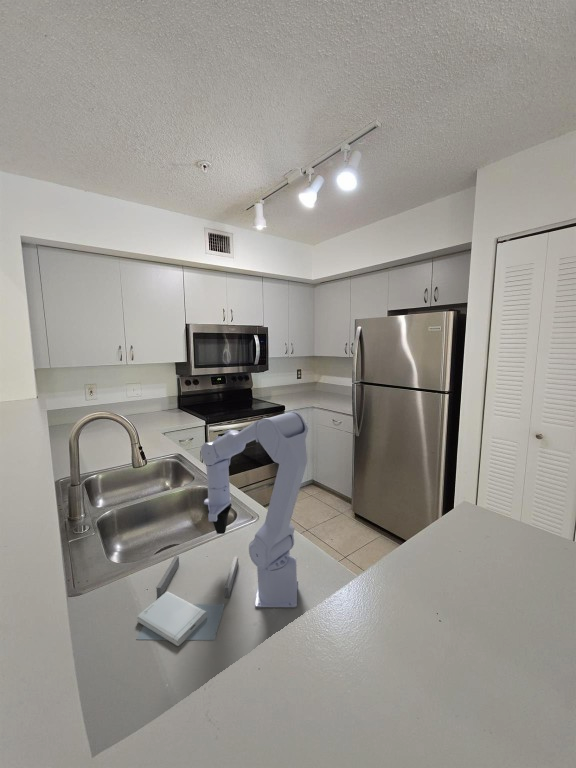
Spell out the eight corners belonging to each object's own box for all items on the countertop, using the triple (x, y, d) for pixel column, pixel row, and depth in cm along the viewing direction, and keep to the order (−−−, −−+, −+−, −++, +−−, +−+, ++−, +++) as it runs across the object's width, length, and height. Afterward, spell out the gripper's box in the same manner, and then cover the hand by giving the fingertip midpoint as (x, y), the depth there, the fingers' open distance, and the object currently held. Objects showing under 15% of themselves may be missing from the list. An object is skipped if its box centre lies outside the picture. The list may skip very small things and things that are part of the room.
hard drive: (136, 615, 69) (177, 640, 63) (167, 590, 76) (206, 609, 70) (137, 622, 70) (177, 647, 63) (168, 596, 77) (207, 616, 71)
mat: (224, 605, 74) (224, 604, 74) (214, 641, 65) (214, 640, 65) (155, 605, 74) (155, 604, 74) (136, 640, 66) (136, 639, 66)
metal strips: (238, 564, 87) (238, 556, 87) (229, 597, 76) (228, 587, 76) (175, 564, 88) (175, 556, 88) (157, 597, 76) (156, 587, 76)
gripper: (211, 474, 94) (213, 518, 95) (195, 497, 79) (198, 549, 81) (235, 473, 93) (237, 518, 95) (223, 497, 79) (226, 548, 81)
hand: (221, 532), depth 88 cm, fingers closed
